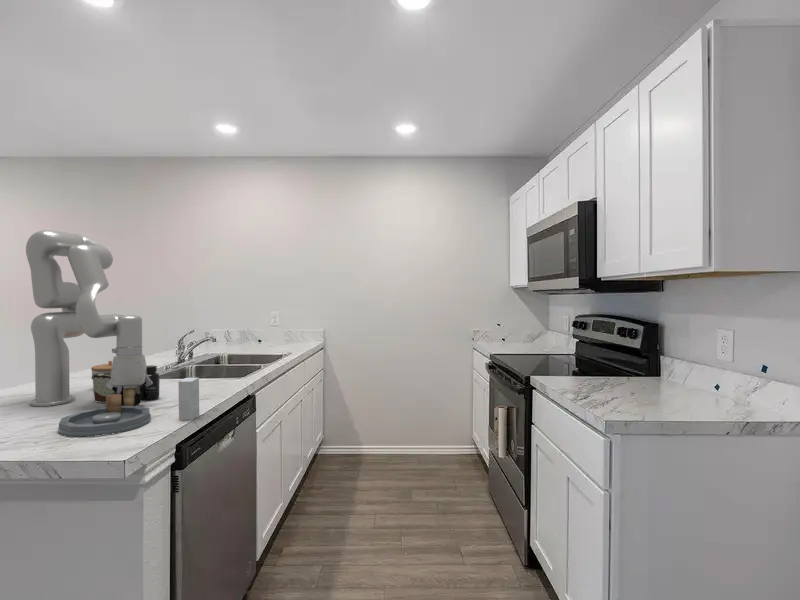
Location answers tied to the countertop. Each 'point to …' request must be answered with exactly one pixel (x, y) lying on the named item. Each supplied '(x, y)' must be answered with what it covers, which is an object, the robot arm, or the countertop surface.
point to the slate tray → (92, 429)
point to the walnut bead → (113, 403)
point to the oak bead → (129, 396)
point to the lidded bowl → (102, 368)
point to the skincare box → (188, 398)
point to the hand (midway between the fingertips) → (129, 404)
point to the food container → (101, 386)
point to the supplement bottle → (153, 389)
